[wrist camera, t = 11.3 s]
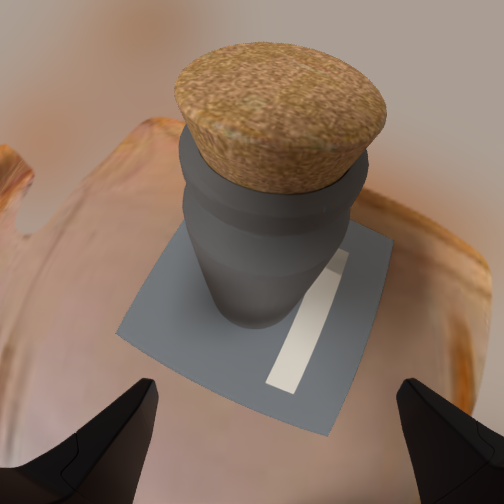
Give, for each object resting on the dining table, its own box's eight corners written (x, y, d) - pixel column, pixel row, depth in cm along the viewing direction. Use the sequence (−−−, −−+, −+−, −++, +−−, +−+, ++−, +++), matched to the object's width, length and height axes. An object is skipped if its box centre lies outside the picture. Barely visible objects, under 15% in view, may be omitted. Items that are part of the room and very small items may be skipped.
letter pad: (389, 244, 21) (394, 240, 21) (324, 434, 15) (327, 436, 14) (221, 172, 24) (221, 166, 23) (119, 335, 17) (115, 333, 17)
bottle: (194, 281, 19) (111, 80, 5) (259, 234, 20) (284, 26, 7) (249, 348, 17) (280, 248, 3) (314, 292, 19) (443, 117, 5)
